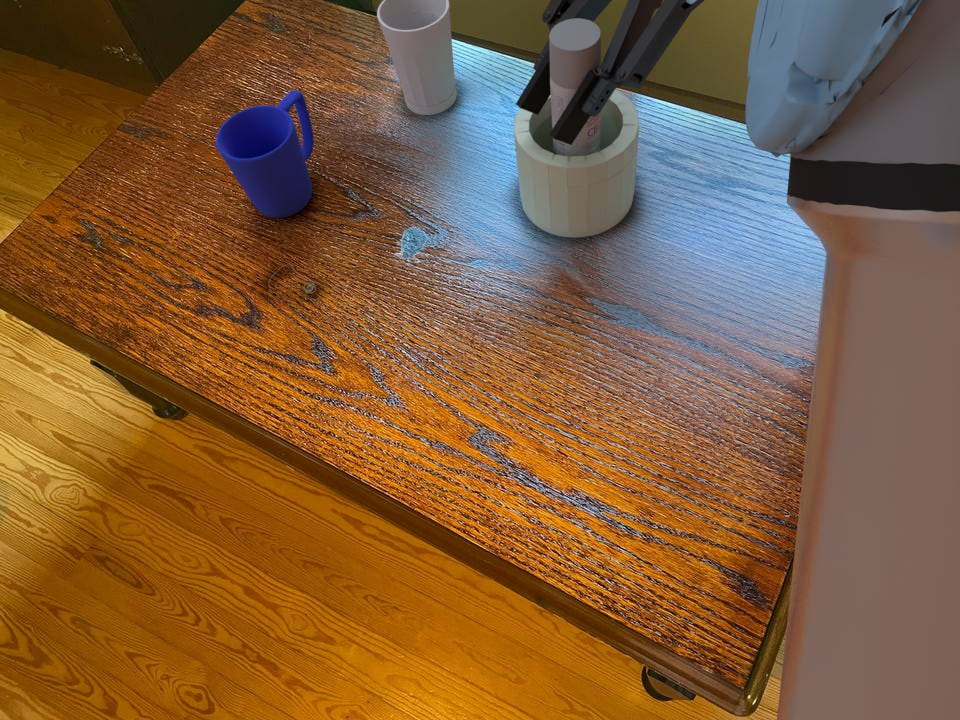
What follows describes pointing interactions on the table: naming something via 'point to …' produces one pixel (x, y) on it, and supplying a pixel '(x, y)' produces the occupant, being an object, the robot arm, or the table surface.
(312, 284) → the necklace
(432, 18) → the cup
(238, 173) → the mug
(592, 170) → the round pot
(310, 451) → the table surface
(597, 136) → the container
